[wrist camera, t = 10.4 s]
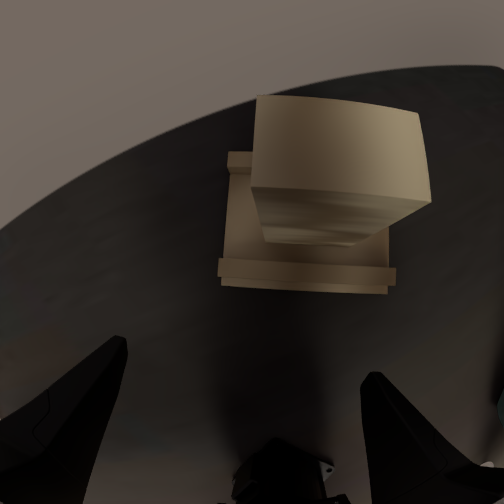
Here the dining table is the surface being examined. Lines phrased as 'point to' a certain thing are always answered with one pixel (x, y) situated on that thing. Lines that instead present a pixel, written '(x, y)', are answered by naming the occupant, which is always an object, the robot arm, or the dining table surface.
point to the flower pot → (501, 408)
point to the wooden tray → (294, 251)
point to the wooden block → (334, 169)
